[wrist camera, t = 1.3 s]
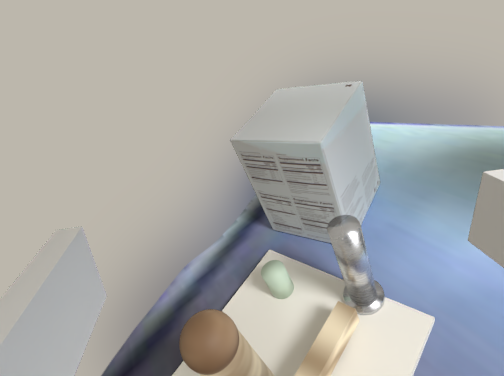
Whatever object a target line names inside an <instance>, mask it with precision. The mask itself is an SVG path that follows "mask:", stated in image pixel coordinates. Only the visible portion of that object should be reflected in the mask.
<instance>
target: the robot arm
mask: <svg viewBox="0 0 504 376" xmlns="http://www.w3.org/2000/svg"><path fill="white" fill-rule="evenodd" d="M468 241H469V242H470V243H472V244H473V245H474V246H476V247H477V248H478V249H480V250H481V251H482V252H484V253H485V254H486V255H487V256H489V257H490V258H491V259H493V260H494V261H495V262H497V263H498V264H499V265H501V266H502V267H503V268H504V169H500V170H492V171H485V172H483V174H482V179H481V183H480V188H479V192H478V196H477V201H476V205H475V210H474V214H473V219H472V223H471V228H470V232H469V237H468ZM105 299H106V292H105V289H104V286H103V284H102V281H101V278H100V275H99V272H98V270H97V267H96V264H95V261H94V259H93V256H92V253H91V250H90V247H89V244H88V242H87V239H86V236H85V233H84V230H83V228H82V226H81V227H74V228H67V229H59V230H56V231H55V232H54V233H53V235H52V236H51V237H50V238H49V240H48V241H47V242H46V243H45V244H44V246H43V247H42V248H41V249H40V251H39V252H38V253H37V254H36V255H35V257H34V258H33V259H32V260H31V262H30V263H29V264H28V265H27V267H26V268H25V269H24V270H23V271H22V273H21V274H20V275H19V277H18V278H17V279H16V280H15V281H14V282H13V284H12V285H11V286H10V287H9V289H8V290H7V291H6V292H5V294H4V295H3V296H2V297H1V298H0V376H75V373H76V371H77V368H78V366H79V364H80V361H81V359H82V356H83V354H84V351H85V348H86V346H87V343H88V341H89V339H90V336H91V334H92V331H93V329H94V326H95V323H96V321H97V319H98V316H99V314H100V311H101V309H102V306H103V304H104V301H105Z"/></svg>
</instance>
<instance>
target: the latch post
mask: <svg viewBox="0 0 504 376" xmlns="http://www.w3.org/2000/svg"><path fill="white" fill-rule="evenodd" d="M261 276H262V278H263V279H264V281H265V283H266V284H267V286H268V288H269V289H270V291H271V293H272V294H273V296H274V297H275V298H277V299H285V298H287V297H289V296H290V295H291V294H292V292H293V290H294V284H293V282H292V280H291V278H290V276H289V274H288V272H287V270H286V268H285V266H284V264H283V263H282V262H281V261H279V260H272V261H269V262H267V263H266V264H265V265H264V266H263V267H262V270H261Z"/></svg>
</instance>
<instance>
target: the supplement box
mask: <svg viewBox="0 0 504 376" xmlns="http://www.w3.org/2000/svg"><path fill="white" fill-rule="evenodd" d="M230 141H231V143H232V145H233V147H234V149H235V151H236V154H237V156H238V158H239V160H240V162H241V164H242V165H243V168H244V170H245V172H246V174H247V176H248V178H249V180H250V182H251V185H252V187H253V189H254V191H255V193H256V195H257V197H258V199H259V201H260V203H261V205H262V208H263V210H264V212H265V214H266V216H267V218H268V220H269V222H270V224H271V226H272V228H273V230H277V231H281V232H285V233H289V234H293V235H298V236H302V237H306V238H311V239H315V240H319V241H324V242H328V243H331V240H330V237H329V234H328V231H327V226H328V224H329V222H330V221H331V220H332V219H333V218H335V217H337V216H340V215H351V216H354V217H355V218H357V219H358V220H359V222H360V225H361V224H362V222H363V220H364V218H365V215H366V213H367V211H368V209H369V207H370V205H371V202H372V200H373V198H374V196H375V194H376V192H377V189H378V187H379V185H380V178H379V173H378V167H377V162H376V156H375V150H374V145H373V139H372V134H371V128H370V122H369V117H368V111H367V105H366V100H365V94H364V89H363V83H362V81H355V82H343V83H333V84H323V85H314V86H304V87H294V88H285V89H277V90H276V91H275V92H274V93H273V94H272V95H271V96H270V97H269V99H268V100H267V101H266V102H265V103H264V104H263V105H262V106H261V107H260V108H259V109H258V110H257V112H256V113H255V114H254V115H253V116H252V117H251V118H250V119H249V120H248V122H247V123H246V124H245V125H244V126H243V127H242V128H241V129H240V130H239V131H238V132H237V134H235V135H234V136H233V138H231V139H230Z"/></svg>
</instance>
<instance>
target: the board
mask: <svg viewBox="0 0 504 376" xmlns="http://www.w3.org/2000/svg"><path fill="white" fill-rule="evenodd" d="M272 260H279V261H281V262H282V263H283V264H284V266H285V268H286V270H287V272H288V274H289V276H290V278H291V280H292V282H293V284H294V290H293V292H292V294H291V295H290V296H289V297H287V298H285V299H277V298H275V297H274V296H273V294H272V293H271V291H270V289H269V288H268V286H267V284H266V283H265V281H264V279H263V278H262V276H261V270H262V267H263V266H264V265H265V264H266V263H267V262H269V261H272ZM345 286H346V284H345V281H344V280H342V279H340V278H337V277H335V276H333V275H330V274H328V273H325V272H323V271H320V270H318V269H316V268H313V267H311V266H308V265H306V264H303V263H301V262H299V261H296V260H294V259H291V258H289V257H286V256H284V255H282V254H279V253H277V252H274V251H272V250H269V251H268V252H267V253H266V255H265V256H264V257H263V259H262V260H261V261H260V262H259V264H258V265H257V266H256V268H255V269H254V270H253V271H252V273H251V274H250V275H249V277H248V278H247V279H246V281H245V282H244V283H243V284H242V286H241V287H240V288H239V290H238V291H237V292H236V293H235V295H234V296H233V297H232V299H231V300H230V301H229V303H228V304H227V305H226V306H225V308H224V309H223V310H222V312H224V313H225V314H227V315H228V316H229V317H230V318H231V319H232V320H233V321H234V323H235V325H236V327H237V329H238V330H239V331H240V333H241V334H242V335H243V336H244V338H245V339H246V340H247V341H248V343H249V344H250V345H251V347H252V348H253V349H254V350H255V352H256V353H257V354H258V355H259V357H260V358H261V359H262V360H263V362H264V363H265V364H266V365H267V367H268V368H269V369H270V370H271V372H272V373H273V374H274V375H275V376H294V375H295V374H296V372H297V370H298V368H299V367H300V365H301V363H302V362H303V360H304V358H305V357H306V355H307V353H308V351H309V350H310V348H311V346H312V345H313V343H314V341H315V339H316V338H317V336H318V334H319V333H320V331H321V329H322V327H323V326H324V324H325V322H326V321H327V319H328V317H329V315H330V314H331V312H332V310H333V309H334V307H335V305H336V304H337V302H338V301H339V302H342V303H344V304H346V303H345V301H344V298H343V291H344V288H345ZM357 315H358V318H359V323H358V325H357V327H356V328H355V330H354V332H353V334H352V336H351V338H350V340H349V342H348V344H347V345H346V347H345V349H344V351H343V353H342V355H341V357H340V359H339V361H338V362H337V364H336V366H335V368H334V370H333V372H332V374H331V376H413V374H414V372H415V369H416V367H417V364H418V362H419V359H420V357H421V354H422V352H423V349H424V347H425V344H426V342H427V339H428V337H429V334H430V332H431V329H432V327H433V325H434V322H435V317H432V316H430V315H427V314H425V313H423V312H420V311H418V310H415V309H413V308H410V307H408V306H406V305H403V304H401V303H398V302H396V301H393V300H391V299H389V298H386V297H385V301H384V304H383V306H382V308H381V309H380V310H379V311H378V312H376V313H374V314H371V315H359V314H357ZM172 376H201V375H200V374H199V373H196V372H194V371H193V370H192V369H190V368H189V367H188V366H187V365H186V363H185V362H184V361H183V362H182V363H181V365H180V366H179V367H178V368H177V370H176V371H175V372H174V374H173V375H172Z"/></svg>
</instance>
